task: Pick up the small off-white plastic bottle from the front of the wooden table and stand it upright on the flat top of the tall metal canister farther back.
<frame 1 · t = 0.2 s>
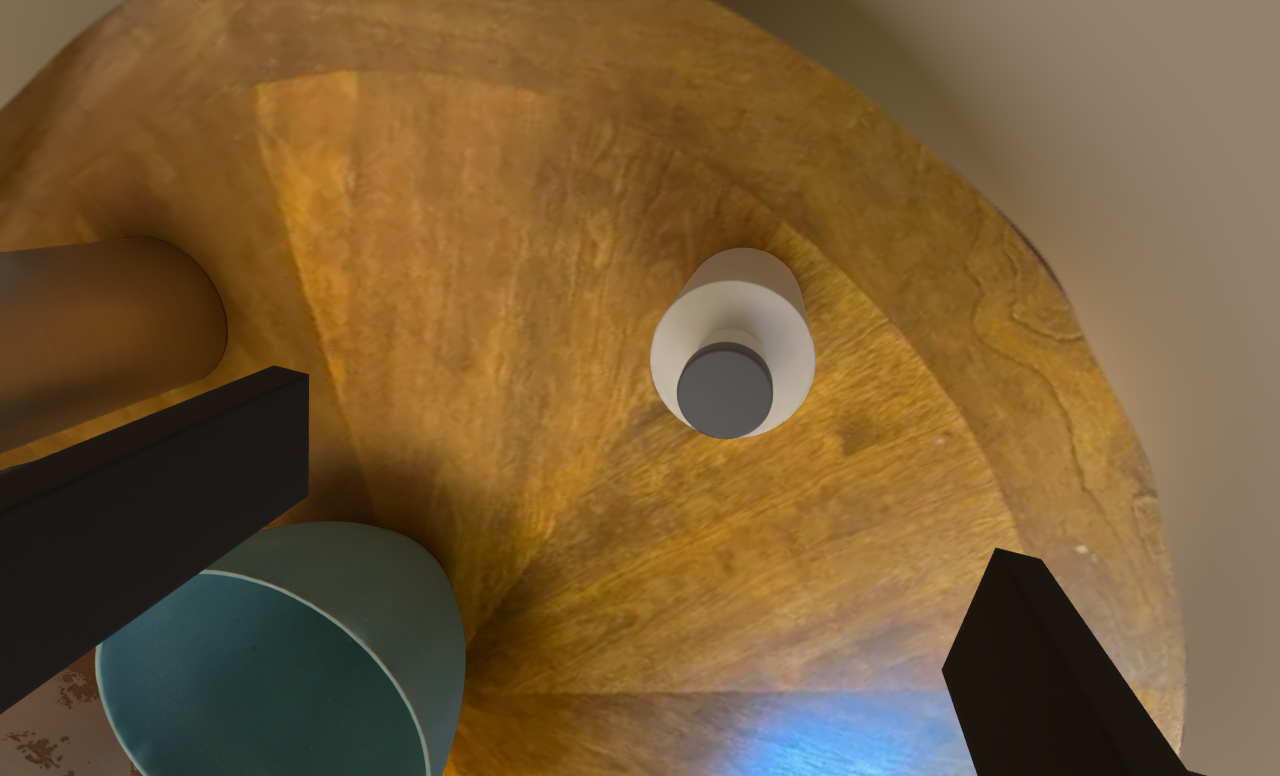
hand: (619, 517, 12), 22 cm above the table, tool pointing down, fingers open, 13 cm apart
metal canister: (160, 312, 40), on the table
bottle: (741, 307, 33), on the table
vase: (169, 678, 51), on the table
plant pot: (393, 582, 43), on the table
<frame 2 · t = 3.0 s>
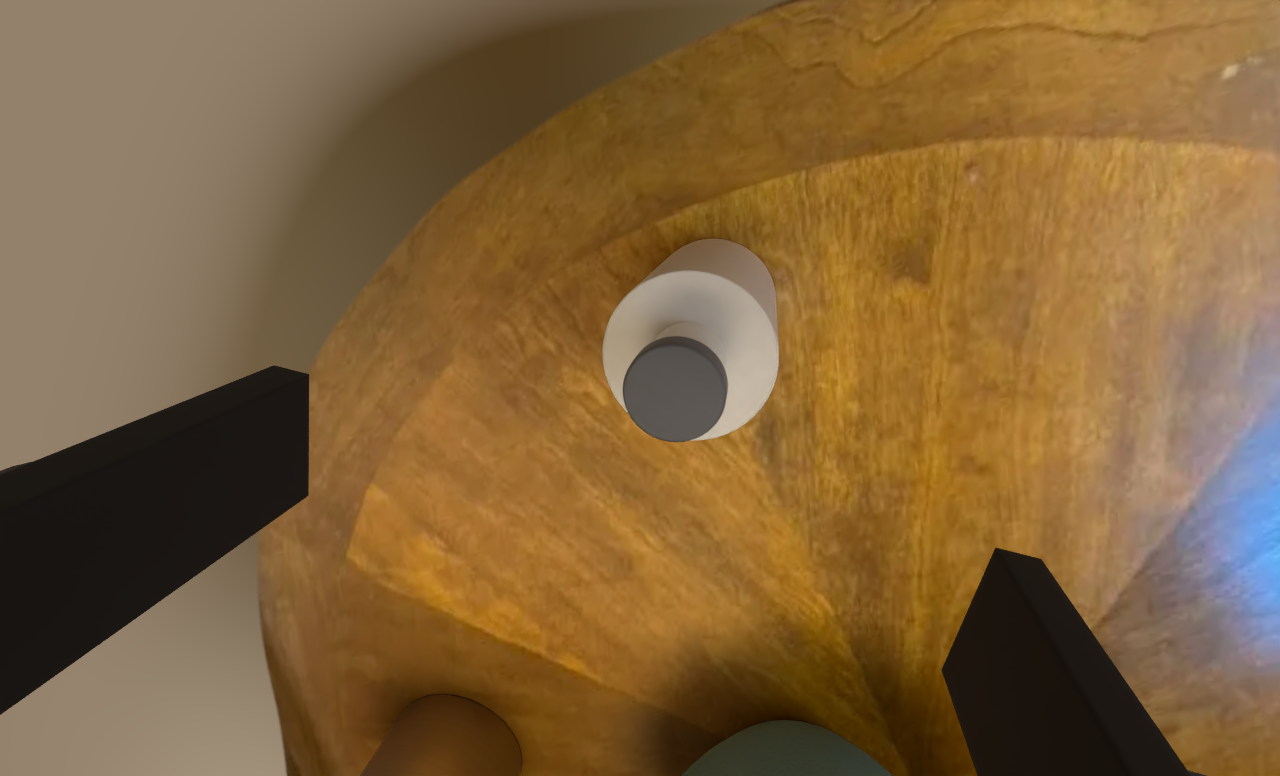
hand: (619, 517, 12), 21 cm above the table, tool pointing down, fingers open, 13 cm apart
metal canister: (458, 748, 44), on the table
bottle: (712, 302, 31), on the table
plant pot: (791, 770, 40), on the table
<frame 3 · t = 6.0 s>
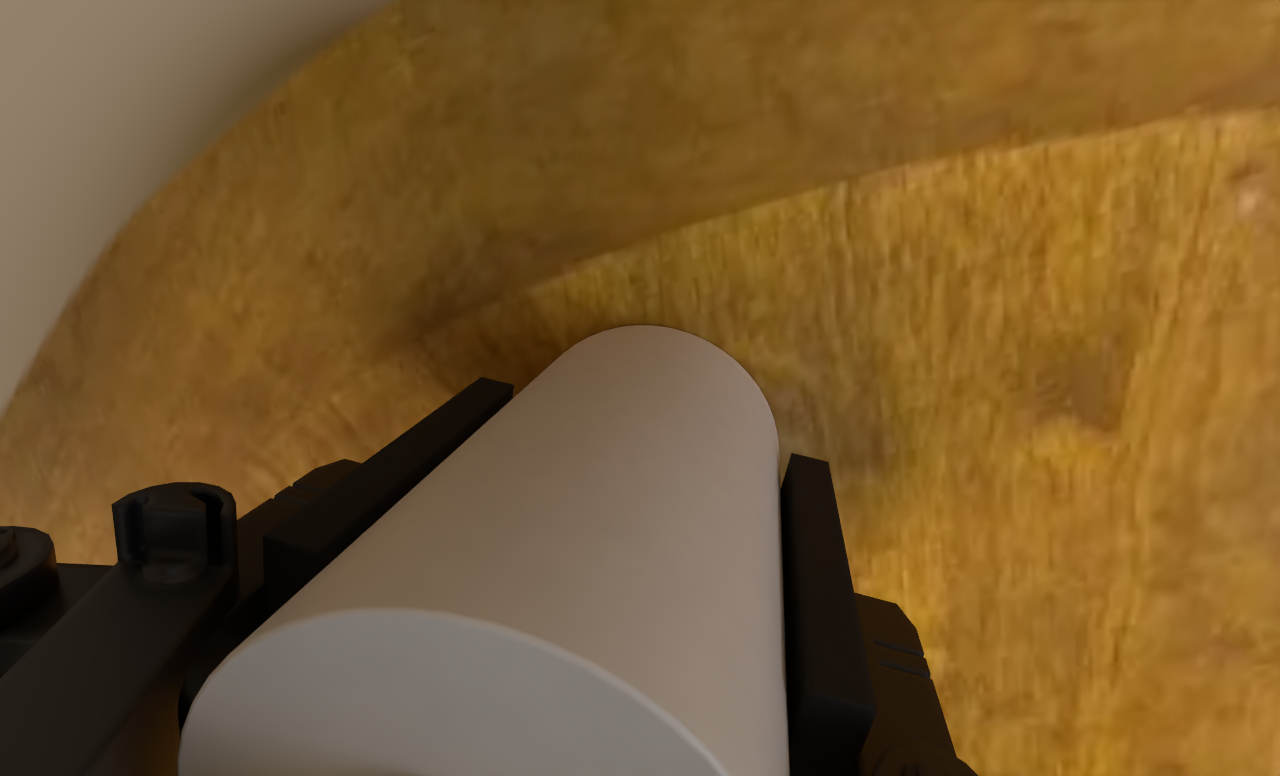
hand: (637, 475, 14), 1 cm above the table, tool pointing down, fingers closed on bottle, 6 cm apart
bottle: (648, 449, 15), on the table, touching gripper
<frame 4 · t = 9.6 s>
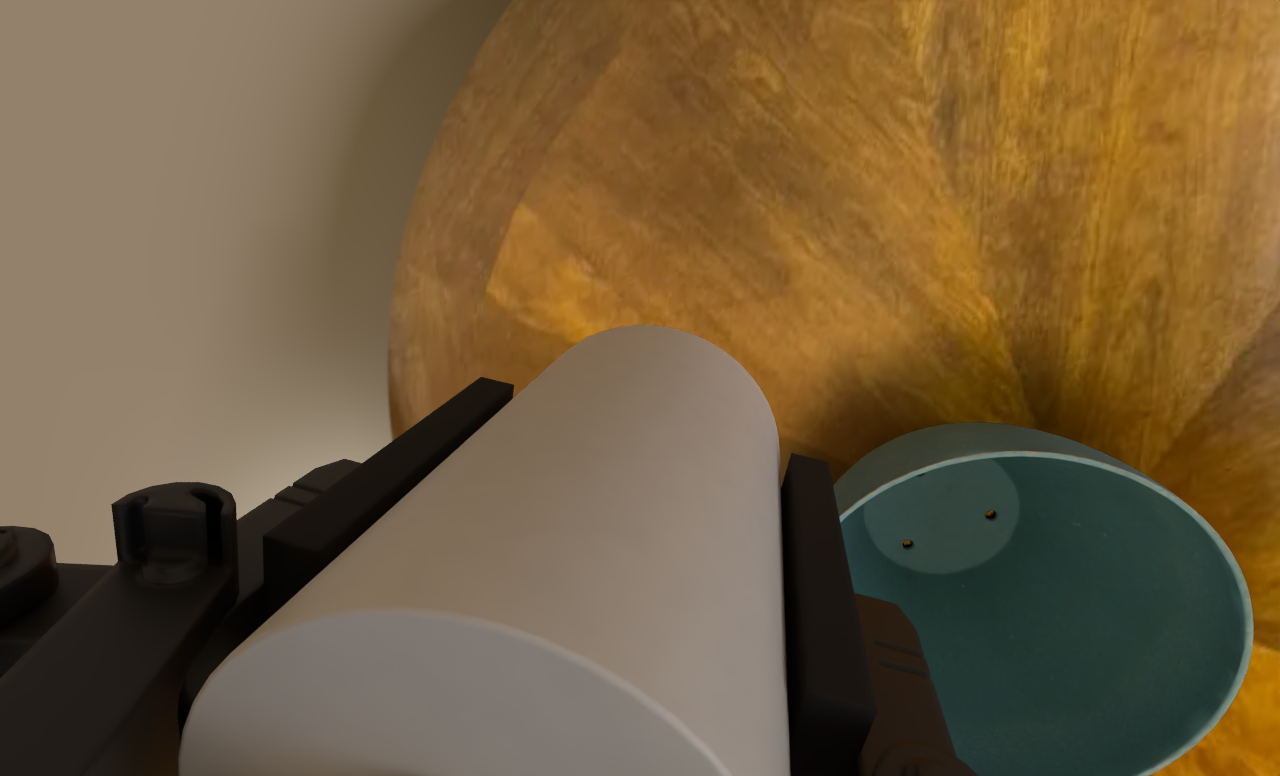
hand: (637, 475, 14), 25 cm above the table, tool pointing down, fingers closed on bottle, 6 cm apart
bottle: (648, 449, 15), point 24 cm above the table, touching gripper
plant pot: (934, 505, 40), on the table
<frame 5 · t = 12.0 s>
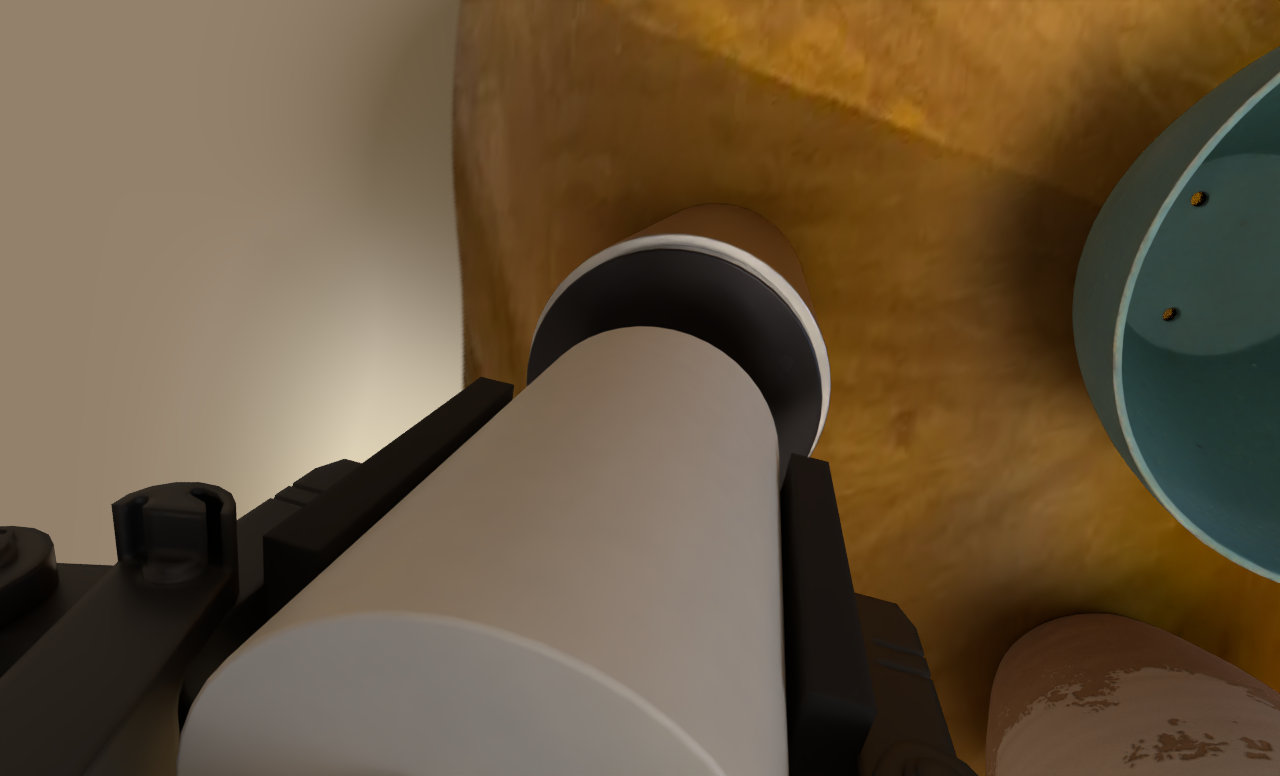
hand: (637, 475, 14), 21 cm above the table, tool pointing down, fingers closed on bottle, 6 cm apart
metal canister: (713, 295, 33), on the table
bottle: (648, 450, 15), point 19 cm above the table, touching gripper
vase: (1086, 682, 36), on the table
plant pot: (1210, 257, 29), on the table
when the fingers open (17 cm above the table, at t = 13.4 s): bottle stays where it is, resting on metal canister.
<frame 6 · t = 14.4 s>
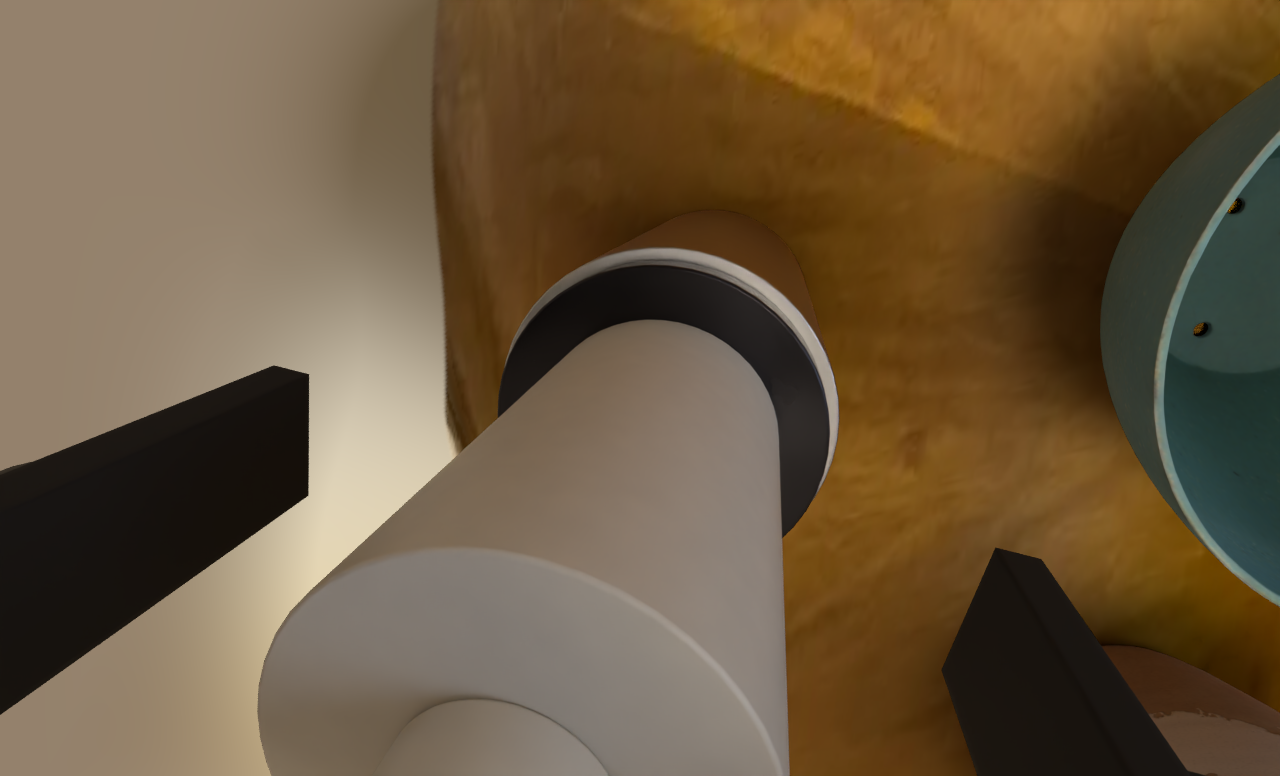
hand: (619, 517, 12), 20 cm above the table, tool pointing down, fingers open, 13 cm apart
metal canister: (710, 307, 31), on the table, touching bottle
bottle: (656, 436, 16), point 16 cm above the table, touching metal canister
vase: (1106, 717, 34), on the table
plant pot: (1245, 268, 27), on the table
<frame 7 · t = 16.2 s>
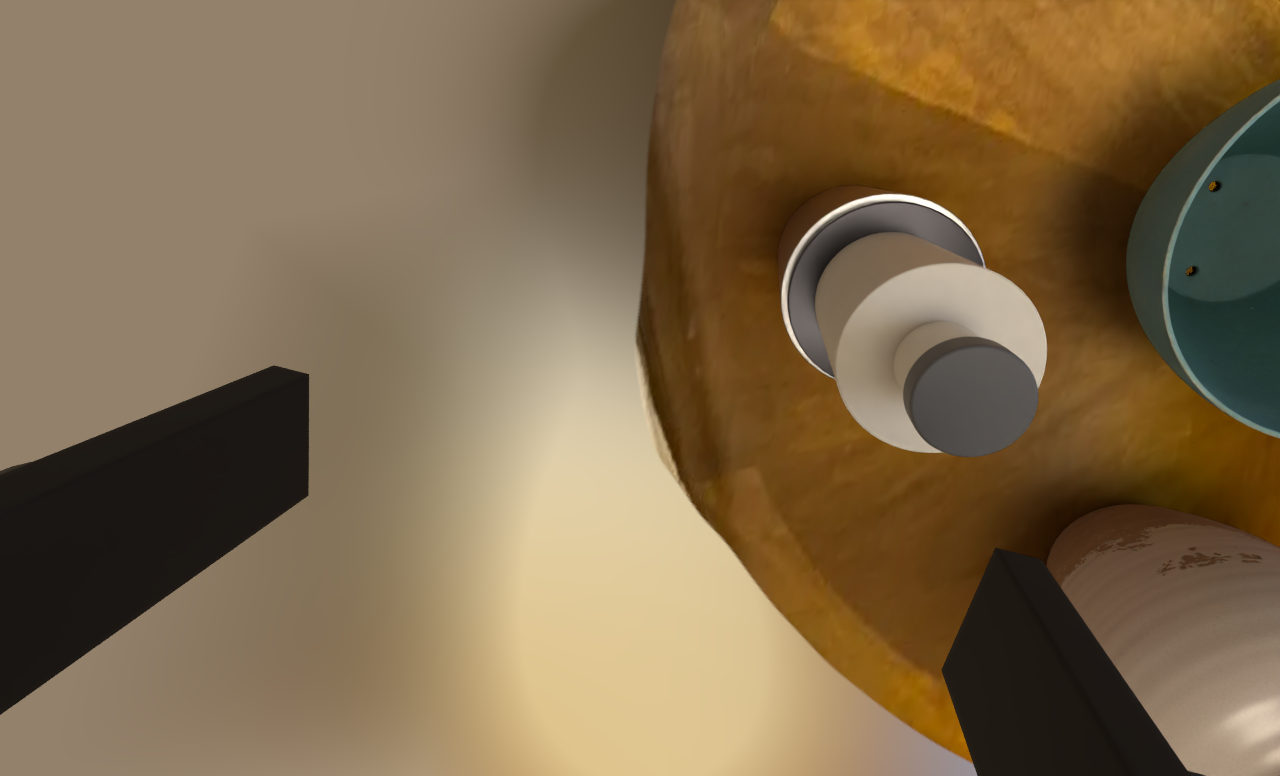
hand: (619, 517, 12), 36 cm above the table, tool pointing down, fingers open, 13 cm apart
metal canister: (845, 255, 44), on the table, touching bottle
bottle: (884, 300, 29), point 16 cm above the table, touching metal canister
vase: (1118, 561, 47), on the table
plant pot: (1221, 229, 40), on the table
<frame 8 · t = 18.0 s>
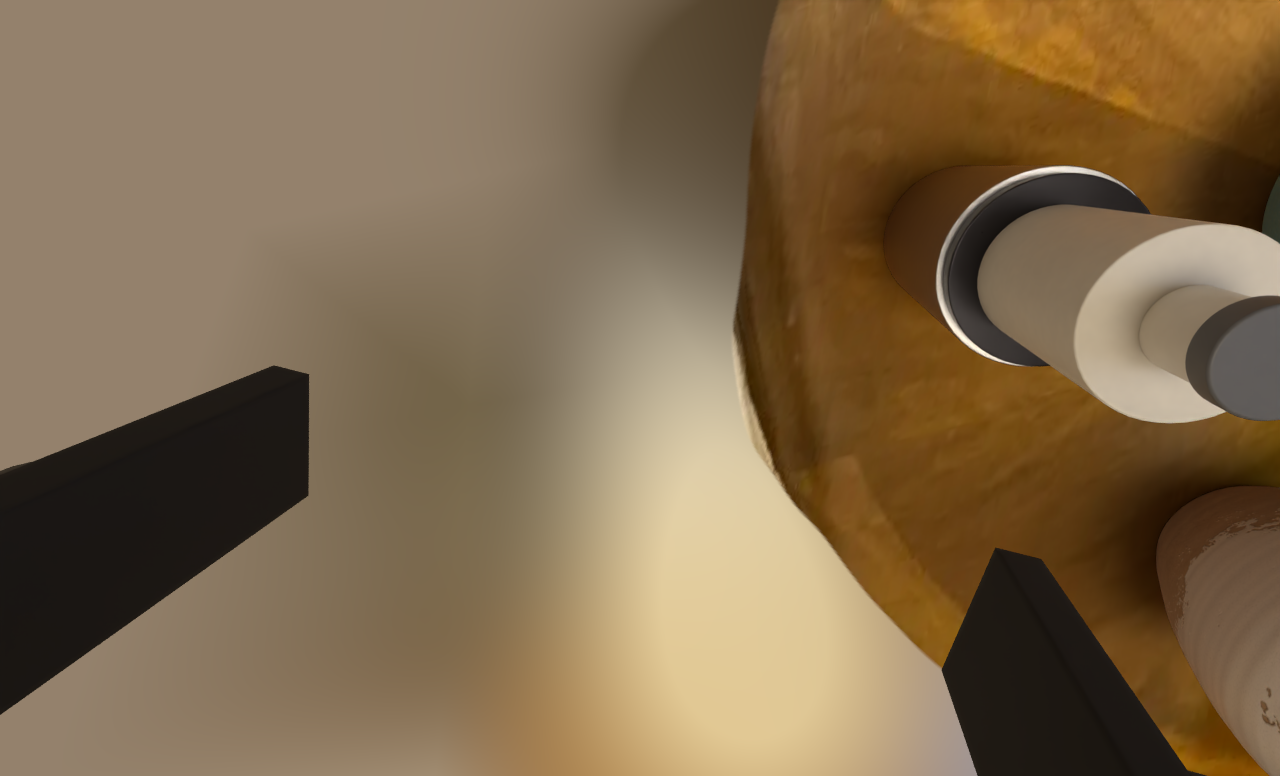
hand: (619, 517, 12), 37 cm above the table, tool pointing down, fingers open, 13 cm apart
metal canister: (954, 237, 43), on the table, touching bottle
bottle: (1051, 275, 28), point 16 cm above the table, touching metal canister
vase: (1231, 544, 46), on the table
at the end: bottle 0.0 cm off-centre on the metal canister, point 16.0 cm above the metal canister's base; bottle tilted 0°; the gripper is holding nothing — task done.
